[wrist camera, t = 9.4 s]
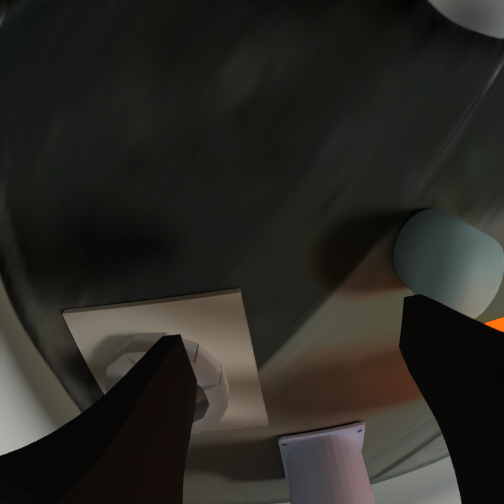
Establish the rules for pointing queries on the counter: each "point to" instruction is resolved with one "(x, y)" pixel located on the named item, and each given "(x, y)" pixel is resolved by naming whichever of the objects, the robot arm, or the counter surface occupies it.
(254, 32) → the counter surface
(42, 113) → the counter surface
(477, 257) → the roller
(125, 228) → the counter surface
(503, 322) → the orange juice
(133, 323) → the board
